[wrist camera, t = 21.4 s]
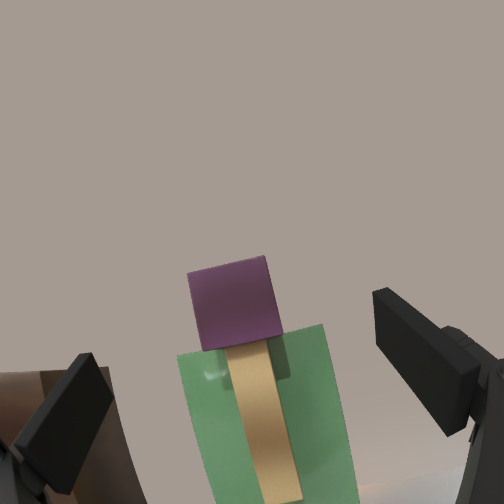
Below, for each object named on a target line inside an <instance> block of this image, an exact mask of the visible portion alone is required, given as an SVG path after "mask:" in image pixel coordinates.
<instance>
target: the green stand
mask: <svg viewBox="0 0 504 504" xmlns="http://www.w3.org/2000/svg"><path fill="white" fill-rule="evenodd" d="M267 344H268V348H269V352H270V356H271V361H272V365H273V369H274V373H275V378H276V382H277V386H278V390H279V395H280V399H281V403H282V407H283V411H284V416H285V420H286V424H287V428H288V432H289V437H290V441H291V445H292V449H293V453H294V457H295V462H296V466H297V470H298V474H299V478H300V482H301V488H302V493H303V499H302V500H297V501H292V502H287V503H282V504H360V501H359V495H358V489H357V483H356V478H355V472H354V467H353V461H352V456H351V450H350V446H349V440H348V435H347V430H346V425H345V420H344V415H343V411H342V406H341V401H340V397H339V392H338V388H337V384H336V379H335V374H334V370H333V366H332V361H331V357H330V353H329V349H328V344H327V340H326V336H325V332H324V328H323V324H319V325H315V326H311V327H307V328H303V329H300V330H296V331H292V332H288V333H284V334H283V335H280V336H276V337H272V338H268V339H267ZM177 361H178V366H179V369H180V374H181V379H182V384H183V388H184V392H185V396H186V400H187V405H188V409H189V412H190V416H191V420H192V424H193V428H194V432H195V435H196V439H197V443H198V446H199V449H200V453H201V456H202V460H203V463H204V467H205V470H206V473H207V476H208V479H209V483H210V486H211V489H212V492H213V495H214V498H215V501H216V504H265V502H264V499H263V496H262V492H261V489H260V485H259V482H258V478H257V475H256V471H255V468H254V464H253V461H252V457H251V453H250V450H249V446H248V442H247V438H246V435H245V431H244V427H243V423H242V419H241V415H240V411H239V408H238V404H237V400H236V395H235V391H234V387H233V383H232V379H231V375H230V371H229V366H228V362H227V358H226V353H225V349H224V348H221V349H216V350H211V351H206V352H203V351H199V352H194V353H188V354H183V355H177Z"/></svg>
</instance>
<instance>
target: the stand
mask: <svg viewBox="0 0 504 504" xmlns="http://www.w3.org/2000/svg"><path fill="white" fill-rule="evenodd" d="M99 369H100V371H101V373H102V375H103V377H104V379H105V381H106V382H107V384H108V386H109V388H110V390H111V392H112V394H113V396H114V392H113V387H112V383H111V378H110V373H109V368H108V367H99ZM65 372H66V370H51V371H31V372H12V373H11V372H9V373H0V438H1V439H2V440H3V442H4V443H5V444H6V445H7V447H8V448H9V447H10V446H11V444H12V443H13V441H14V440H15V439H16V437H17V436H18V434H19V433H20V431H21V430H22V429H24V428H23V427H24V426H25V424H26V423H28V422H27V421H28V420H29V419H30V417H31V416H32V414H33V413H34V412H36V411H37V409H38V408H39V406H40V405H41V404H42V402H43V401H44V400H45V398H46V397H47V396H48V394H49V393H50V392H51V390H52V389H53V388H54V386H55V385H56V384H57V382H58V381H59V380H60V378H61V377H62V376H63V374H64V373H65ZM44 489H45V490H46V491H47V493H48V494H49V496H50V499H51V502H52V504H147V502H146V499H145V496H144V494H143V491H142V488H141V486H140V483H139V480H138V477H137V474H136V471H135V468H134V465H133V462H132V459H131V456H130V453H129V449H128V446H127V443H126V439H125V436H124V432H123V428H122V425H121V421H120V417H119V413H118V409H117V405H116V401H115V396H114V399H113V401H112V403H111V405H110V408H109V410H108V412H107V414H106V416H105V418H104V420H103V422H102V424H101V426H100V429H99V431H98V433H97V435H96V437H95V439H94V441H93V444H92V446H91V448H90V450H89V452H88V455H87V457H86V459H85V461H84V464H83V466H82V468H81V470H80V473H79V475H78V477H77V480H76V482H75V484H74V487H73V489H72V492H71V494H70V496H69V495H63V494H58V493H55V492H54V491H53V490H52V489H51V488H50V487H49V486H48V485H47V484H46V486H45V488H44Z"/></svg>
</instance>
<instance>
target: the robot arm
mask: <svg viewBox="0 0 504 504" xmlns="http://www.w3.org/2000/svg"><path fill="white" fill-rule="evenodd" d="M372 294H373V305H374V318H375V332H376V345H377V346H378V347H379V348H380V350H381V351H382V352H383V354H384V355H385V356H386V357H387V359H388V360H389V361H390V362H391V364H392V365H393V366H394V368H395V369H396V370H397V371H398V373H399V374H400V375H401V377H402V378H403V379H404V380H405V382H406V383H407V384H408V385H409V387H410V388H411V389H412V391H413V392H414V393H415V395H416V396H417V397H418V399H419V400H420V401H421V402H422V404H423V405H424V406H425V408H426V409H427V411H428V412H429V413H430V415H431V416H432V417H433V419H434V420H435V421H436V423H437V424H438V425H439V427H440V428H441V429H442V431H443V432H444V433H445V435H446V436H447V437H449V436H451V435H453V434H455V433H456V432H458V431H460V430H462V429H464V428H465V427H466V425H467V422H468V418H469V415H470V416H471V417H472V419H473V420H474V421H475V425H474V428H473V431H472V434H471V437H470V440H469V442H471V444H470V449H469V454H468V458H467V463H466V467H465V471H464V475H463V479H462V483H461V486H460V490H459V493H458V497H457V500H456V503H455V504H504V359H499V360H498V359H497V358H495V357H494V356H493V355H491V354H490V353H489V352H488V351H487V350H485V349H484V348H483V347H482V346H480V345H479V344H478V343H475V341H474V340H473V339H471V338H470V337H469V338H468V336H467V335H466V334H465V333H464V332H462V331H461V330H460V329H457V328H454V327H450V326H446V327H444V328H441V329H440V328H438V327H437V326H436V325H435V324H434V323H432V322H431V321H430V320H429V319H428V318H426V317H425V316H424V315H422V314H421V313H420V312H419V311H417V310H416V309H415V308H414V307H412V306H411V305H410V304H409V303H407V302H406V301H405V300H404V299H402V298H401V297H400V296H398V295H397V294H396V293H395V292H393V291H392V290H391V289H389V288H388V287H386V288H383V289H380V290H376V291H373V292H372ZM113 399H114V396H113V394H112V392H111V390H110V388H109V386H108V384H107V382H106V381H105V379H104V377H103V375H102V373H101V371H100V369H99V367H98V365H97V363H96V361H95V359H94V356H93V354H92V353H83V354H79V355H78V356H77V358H76V359H75V360H74V362H73V363H72V364H71V365H70V367H69V368H68V369H67V370H66V372H65V373H64V374H63V376H62V377H61V378H60V380H59V381H58V382H57V384H56V385H55V386H54V388H53V389H52V390H51V392H50V393H49V394H48V396H47V397H46V398H45V400H44V401H43V402H42V404H41V405H40V406H39V408H38V409H37V411H36V412H34V413H33V414H32V416H31V417H30V419H29V420H28V421H27V422H28V423H26V424H25V426H24V427H23V428H24V429H22V430H21V431H20V433H19V434H18V436H17V437H16V439H15V440H14V441H13V443H12V444H11V446H10V447H9V448H8V447H7V445H6V444H5V443H4V442H3V440H2V439H1V438H0V504H52V502H51V499H50V496H49V494H48V493H47V491H46V490H45V489H44V488H45V486H46V484H47V485H48V486H49V487H50V488H51V489H52V490H53V491H54V492H55V493H58V494H63V495H69V496H70V494H71V492H72V489H73V487H74V484H75V482H76V480H77V477H78V475H79V473H80V470H81V468H82V466H83V464H84V461H85V459H86V457H87V455H88V452H89V450H90V448H91V446H92V444H93V441H94V439H95V437H96V435H97V433H98V431H99V429H100V426H101V424H102V422H103V420H104V418H105V416H106V414H107V412H108V410H109V408H110V405H111V403H112V401H113Z"/></svg>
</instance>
